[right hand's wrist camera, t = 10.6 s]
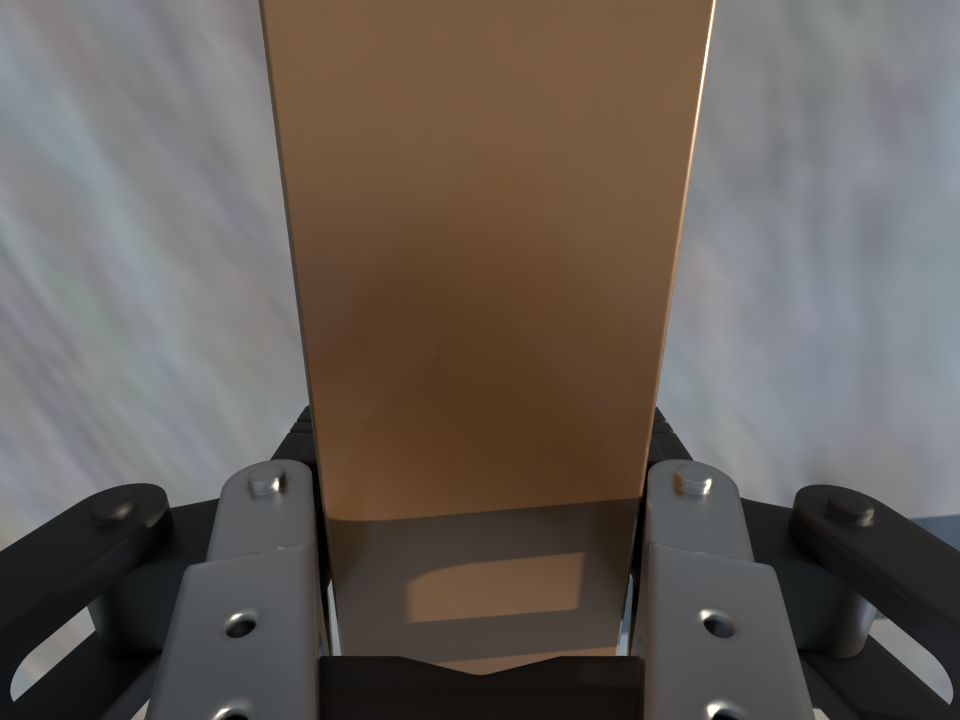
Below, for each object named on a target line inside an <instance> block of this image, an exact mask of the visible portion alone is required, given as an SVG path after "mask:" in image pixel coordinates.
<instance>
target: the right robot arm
mask: <svg viewBox="0 0 960 720" xmlns="http://www.w3.org/2000/svg"><path fill="white" fill-rule="evenodd" d="M630 573H631V576H632V578H633V586H632V593H631V600H630V614H629V629H628V644H627V656H559V657H555V658H551V659H547V660H543V661H539V662H535V663H531V664H527V665H523V666H519V667H515V668H510V669H506V670H502V671H498V672H494V673H490V674H485V675H475V674H470V673H466V672H462V671H458V670H454V669H450V668H445V667H441V666H437V665H433V664H429V663H425V662H421V661H417V660H413V659H409V658H405V657H401V656H333V643H332V628H331V613H330V600H329V593H328V586H329V583H330V580H331V571H330V563H329V555H328V547H327V539H326V531H325V523H324V515H323V507H322V499H321V491H320V483H319V475H318V467H317V460H316V452H315V444H314V436H313V428H312V420H311V412H310V405H308V406H307V407H305V409H304V410H303V412H302V413H301V415H300V416H299V418H298V419H297V422H295V424H294V425H293V427H292V428H291V430H290V433H288V434H287V436H286V437H285V439H284V440H283V442H282V443H281V445H280V446H279V448H278V449H277V451H276V452H275V454H274V455H273V456H272V458H271V459H270V460H269V461H264V462H260V463H256V464H253V465H251V466H248V467H246V468H244V469H242V470H240V471H238V472H237V473H235V474H234V475H233V476H231V477H230V478H229V479H228V480H227V481H226V483H225V484H224V485H223V488H222V491H221V495H220V498H218V499H214V500H210V501H205V502H200V503H194V504H189V505H184V506H179V507H174V508H170V506H169V502H168V499H167V495H166V492H165V491H164V490H163V489H162V488H161V487H159V486H157V485H153V484H147V483H136V484H127V485H122V486H117V487H113V488H110V489H107V490H104V491H101V492H99V493H96V494H94V495H92V496H90V497H88V498H86V499H84V500H82V501H81V502H79V503H77V504H76V505H74V506H72V507H71V508H69V509H68V510H66V511H64V512H63V513H61V514H60V515H58V516H56V517H55V518H53V519H52V520H50V521H48V522H47V523H45V524H44V525H42V526H40V527H39V528H37V529H36V530H34V531H32V532H31V533H29V534H28V535H26V536H24V537H23V538H21V539H20V540H18V541H17V542H15V543H13V544H12V545H10V546H9V547H7V548H5V549H4V550H2V551H1V552H0V720H131V718H132V717H133V716H134V715H135V714H136V713H137V712H138V711H139V710H140V708H141V707H142V706H143V705H144V704H145V703H146V702H147V701H148V700H149V698H150V700H149V704H148V708H147V711H146V715H145V719H144V720H960V552H959V551H958V550H956V549H955V548H953V547H951V546H950V545H948V544H947V543H945V542H944V541H942V540H940V539H939V538H937V537H936V536H934V535H932V534H931V533H929V532H928V531H926V530H924V529H923V528H921V527H920V526H918V525H916V524H915V523H913V522H912V521H910V520H908V519H907V518H905V517H904V516H902V515H900V514H899V513H897V512H896V511H894V510H892V509H891V508H889V507H888V506H886V505H884V504H883V503H881V502H879V501H878V500H876V499H874V498H872V497H870V496H867V495H865V494H862V493H860V492H857V491H854V490H851V489H847V488H843V487H839V486H833V485H810V486H806V487H804V488H802V489H800V490H799V491H798V492H797V494H796V496H795V500H794V504H793V508H787V507H782V506H776V505H771V504H766V503H761V502H756V501H752V500H747V499H744V498H741V497H740V495H739V490H738V488H737V485H736V484H735V483H734V481H733V480H732V479H731V478H730V477H729V476H727V475H726V474H725V473H723V472H722V471H720V470H718V469H716V468H714V467H712V466H709V465H707V464H704V463H700V462H696V461H694V460H693V459H692V457H691V456H690V454H689V453H688V451H687V450H686V449H685V447H684V446H683V444H682V443H681V441H680V440H679V438H678V437H677V435H676V434H675V433H673V429H672V428H671V427H670V425H669V424H668V423H666V419H665V418H664V416H663V415H662V413H661V412H660V410H659V409H658V408H657V407H655V414H654V420H653V427H652V433H651V440H650V447H649V453H648V460H647V466H646V473H645V480H644V486H643V493H642V499H641V506H640V513H639V519H638V526H637V532H636V539H635V546H634V552H633V559H632V565H631V572H630ZM86 606H87V607H88V610H89V612H90V615H91V618H92V621H93V623H94V626H95V629H96V630H95V631H94V632H93V633H92V634H91V635H90V636H88V637H87V638H86V639H85V640H84V641H83V642H82V643H81V644H79V645H78V646H77V647H76V648H75V649H74V650H73V651H71V652H70V653H69V654H68V655H67V656H66V657H65V658H63V659H62V660H61V661H60V662H59V663H58V664H57V665H55V666H54V667H53V668H52V669H51V670H50V671H49V672H47V673H46V674H45V675H44V676H43V677H42V678H41V679H40V680H38V681H37V682H36V683H35V684H34V685H33V686H32V687H30V688H29V689H28V690H27V691H26V692H25V693H24V694H22V695H21V696H20V697H19V698H18V699H17V700H16V701H14V702H13V700H12V698H11V694H10V687H11V682H12V679H13V676H14V674H15V672H16V670H17V668H18V667H19V665H20V664H21V662H22V661H23V660H24V659H25V657H26V656H27V655H28V654H29V653H30V652H31V651H33V650H34V649H35V648H36V647H37V646H38V645H40V644H41V643H42V642H43V641H45V640H46V639H47V638H48V637H49V636H51V635H52V634H53V633H54V632H55V631H57V630H58V629H59V628H60V627H62V626H63V625H64V624H65V623H66V622H68V621H69V620H70V619H71V618H73V617H74V616H75V615H76V614H77V613H79V612H80V611H81V610H82V609H84V608H85V607H86ZM877 609H878V610H879V611H880V612H881V613H883V614H884V615H885V616H886V617H887V618H889V619H890V620H891V621H892V622H894V623H895V624H896V625H897V626H898V627H900V628H901V629H902V630H903V631H905V632H906V633H907V634H908V635H909V636H911V637H912V638H913V639H914V640H916V641H917V642H918V643H919V644H920V645H922V646H923V647H924V648H925V649H926V650H928V651H929V652H930V653H931V654H932V655H933V656H934V657H935V658H936V659H937V660H938V661H939V662H940V663H941V665H942V666H943V667H944V669H945V670H946V672H947V674H948V676H949V678H950V680H951V683H952V686H953V699H952V702H951V704H950V705H949V704H948V703H947V702H946V701H944V700H943V699H942V698H941V697H940V696H939V695H938V694H936V693H935V692H934V691H933V690H932V689H931V688H930V687H928V686H927V685H926V684H925V683H924V682H923V681H922V680H921V679H919V678H918V677H917V676H916V675H915V674H914V673H913V672H911V671H910V670H909V669H908V668H907V667H906V666H905V665H903V664H902V663H901V662H900V661H899V660H898V659H897V658H895V657H894V656H893V655H892V654H891V653H890V652H889V651H887V650H886V649H885V648H884V647H883V646H882V645H881V644H880V643H878V642H877V641H876V640H875V639H874V638H873V637H872V636H870V635H869V634H868V633H869V631H870V628H871V625H872V622H873V620H874V617H875V614H876V612H877Z"/></svg>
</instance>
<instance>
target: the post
mask: <svg viewBox="0 0 960 720" xmlns="http://www.w3.org/2000/svg"><path fill="white" fill-rule="evenodd" d="M716 5H717V0H259V7H260V15H261V23H262V31H263V39H264V47H265V55H266V63H267V71H268V79H269V87H270V94H271V102H272V110H273V118H274V126H275V134H276V142H277V150H278V158H279V166H280V174H281V182H282V190H283V198H284V206H285V214H286V221H287V229H288V237H289V245H290V253H291V261H292V269H293V277H294V285H295V293H296V301H297V309H298V317H299V325H300V333H301V340H302V348H303V356H304V364H305V372H306V380H307V388H308V396H309V404H310V412H311V420H312V428H313V436H314V444H315V452H316V460H317V467H318V475H319V483H320V491H321V499H322V507H323V515H324V523H325V531H326V539H327V547H328V555H329V563H330V571H331V579H332V586H333V594H334V602H335V610H336V618H337V626H338V634H339V642H340V650H341V656H401V657H405V658H409V659H413V660H417V661H421V662H425V663H429V664H433V665H437V666H441V667H445V668H450V669H454V670H458V671H462V672H466V673H470V674H475V675H485V674H490V673H494V672H498V671H502V670H506V669H510V668H515V667H519V666H523V665H527V664H531V663H535V662H539V661H543V660H547V659H551V658H555V657H559V656H618V651H619V644H620V638H621V631H622V625H623V618H624V611H625V605H626V598H627V592H628V585H629V578H630V572H631V565H632V559H633V552H634V546H635V539H636V532H637V526H638V519H639V513H640V506H641V499H642V493H643V486H644V480H645V473H646V466H647V460H648V453H649V447H650V440H651V433H652V427H653V420H654V414H655V407H656V400H657V394H658V387H659V381H660V374H661V367H662V361H663V354H664V348H665V341H666V334H667V328H668V321H669V315H670V308H671V301H672V295H673V288H674V282H675V275H676V268H677V262H678V255H679V249H680V242H681V236H682V229H683V222H684V216H685V209H686V203H687V196H688V189H689V183H690V176H691V170H692V163H693V156H694V150H695V143H696V137H697V130H698V123H699V117H700V110H701V104H702V97H703V90H704V84H705V77H706V71H707V64H708V57H709V51H710V44H711V38H712V31H713V24H714V18H715V11H716Z"/></svg>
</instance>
